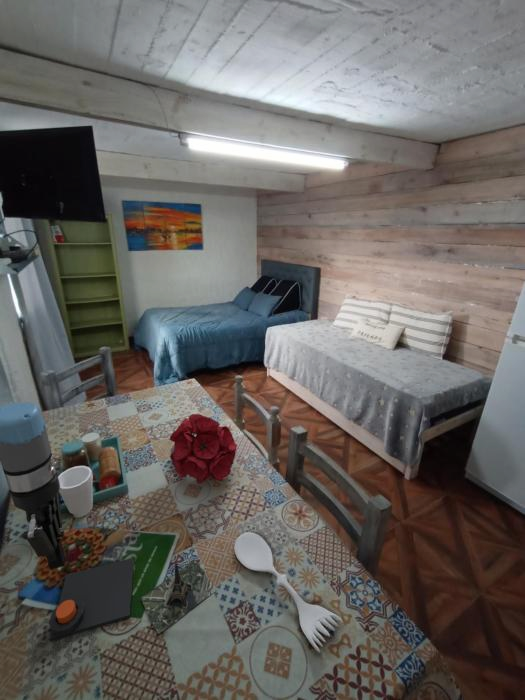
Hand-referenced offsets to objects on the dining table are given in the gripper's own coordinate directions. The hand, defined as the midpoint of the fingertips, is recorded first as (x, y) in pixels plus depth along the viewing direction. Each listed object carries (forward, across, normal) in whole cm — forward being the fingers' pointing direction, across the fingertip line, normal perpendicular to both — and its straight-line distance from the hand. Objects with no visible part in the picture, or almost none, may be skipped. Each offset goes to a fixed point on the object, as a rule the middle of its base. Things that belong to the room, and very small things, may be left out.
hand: (58, 564), depth 69 cm
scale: (+14, 0, -6) cm, 15 cm away
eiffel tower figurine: (+14, -4, -25) cm, 29 cm away
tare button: (+12, -4, -1) cm, 12 cm away
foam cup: (+15, +29, +4) cm, 33 cm away
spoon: (+14, -9, -49) cm, 52 cm away
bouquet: (+14, +37, -34) cm, 52 cm away
